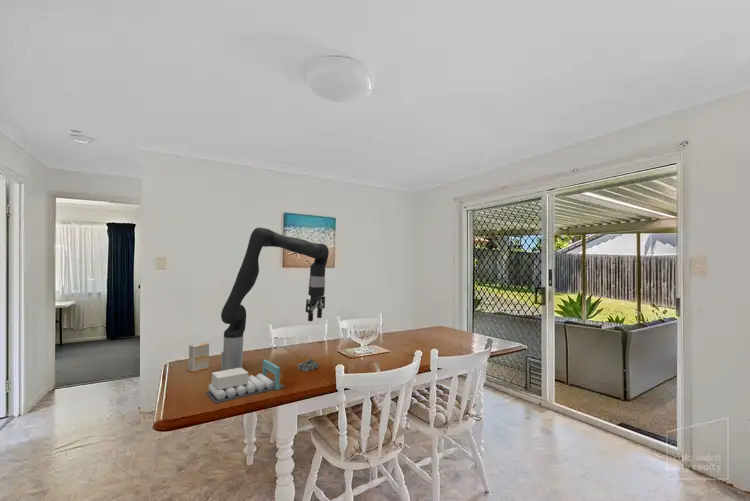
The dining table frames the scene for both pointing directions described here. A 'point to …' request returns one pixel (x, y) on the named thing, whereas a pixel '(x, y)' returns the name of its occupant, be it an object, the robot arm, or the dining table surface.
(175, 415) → the dining table surface
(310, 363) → the egg carton
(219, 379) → the slab
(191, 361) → the supplement box
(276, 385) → the bar
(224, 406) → the dining table surface
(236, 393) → the roller bed
